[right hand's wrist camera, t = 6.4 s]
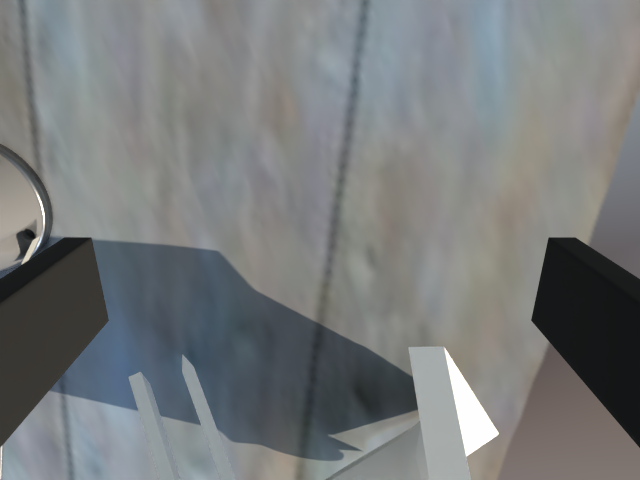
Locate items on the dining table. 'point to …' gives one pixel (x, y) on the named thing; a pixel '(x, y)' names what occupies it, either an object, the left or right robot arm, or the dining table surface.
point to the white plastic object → (381, 463)
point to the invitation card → (0, 460)
